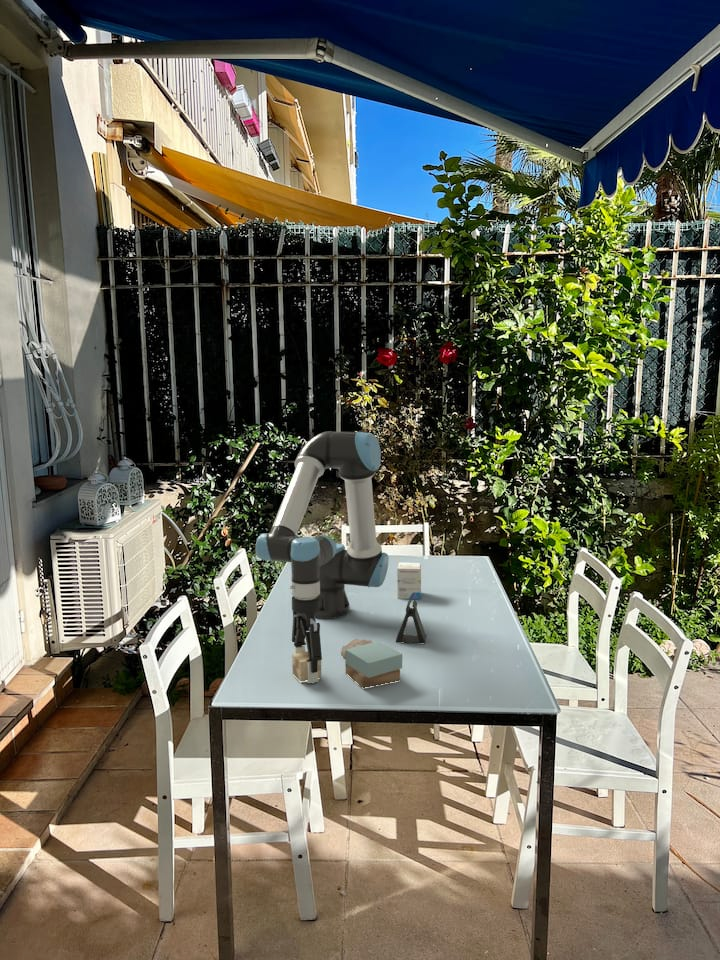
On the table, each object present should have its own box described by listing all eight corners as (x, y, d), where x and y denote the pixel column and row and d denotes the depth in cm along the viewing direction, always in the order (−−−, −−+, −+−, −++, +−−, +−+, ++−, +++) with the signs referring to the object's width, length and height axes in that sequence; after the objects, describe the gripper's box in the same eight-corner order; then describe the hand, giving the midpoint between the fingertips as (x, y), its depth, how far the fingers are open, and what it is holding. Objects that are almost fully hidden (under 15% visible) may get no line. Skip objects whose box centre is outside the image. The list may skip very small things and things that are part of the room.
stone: (333, 649, 214) (333, 640, 214) (369, 643, 218) (369, 635, 218) (347, 663, 203) (347, 654, 203) (385, 657, 208) (385, 648, 207)
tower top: (345, 663, 194) (345, 649, 194) (378, 654, 200) (378, 640, 200) (368, 677, 185) (368, 663, 184) (402, 668, 191) (402, 653, 191)
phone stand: (395, 642, 218) (395, 604, 216) (397, 635, 224) (398, 598, 222) (424, 644, 217) (425, 606, 215) (426, 637, 222) (427, 600, 221)
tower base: (345, 675, 196) (345, 661, 195) (381, 668, 201) (381, 654, 200) (363, 691, 186) (363, 677, 186) (399, 683, 191) (400, 669, 190)
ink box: (421, 592, 267) (421, 562, 265) (420, 599, 259) (421, 568, 257) (398, 591, 268) (398, 561, 266) (396, 598, 259) (397, 567, 258)
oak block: (292, 674, 195) (292, 654, 194) (312, 670, 198) (312, 650, 197) (300, 683, 190) (300, 662, 189) (321, 679, 192) (321, 658, 191)
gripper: (279, 586, 198) (280, 663, 201) (307, 609, 179) (308, 694, 183) (304, 583, 201) (305, 659, 205) (334, 605, 182) (335, 689, 186)
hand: (306, 675), depth 194 cm, fingers open, 8 cm apart
